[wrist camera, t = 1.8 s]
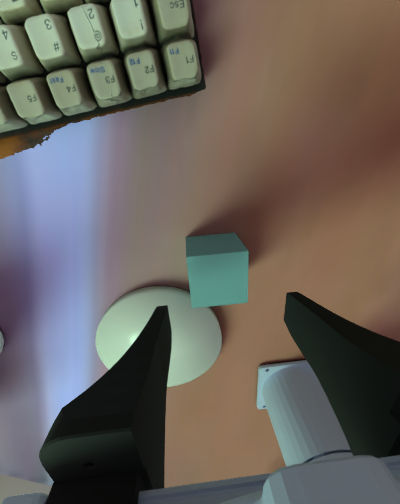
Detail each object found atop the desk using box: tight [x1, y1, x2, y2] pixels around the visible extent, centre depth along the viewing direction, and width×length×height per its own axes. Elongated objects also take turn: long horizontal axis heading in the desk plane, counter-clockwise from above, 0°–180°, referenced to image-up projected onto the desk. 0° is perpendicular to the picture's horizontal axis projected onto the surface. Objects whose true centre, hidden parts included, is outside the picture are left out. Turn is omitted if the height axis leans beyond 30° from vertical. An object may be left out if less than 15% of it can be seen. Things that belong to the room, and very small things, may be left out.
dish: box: [96, 286, 222, 387], centre depth 23 cm, size 13×13×1 cm
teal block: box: [186, 233, 249, 308], centre depth 18 cm, size 4×4×4 cm
